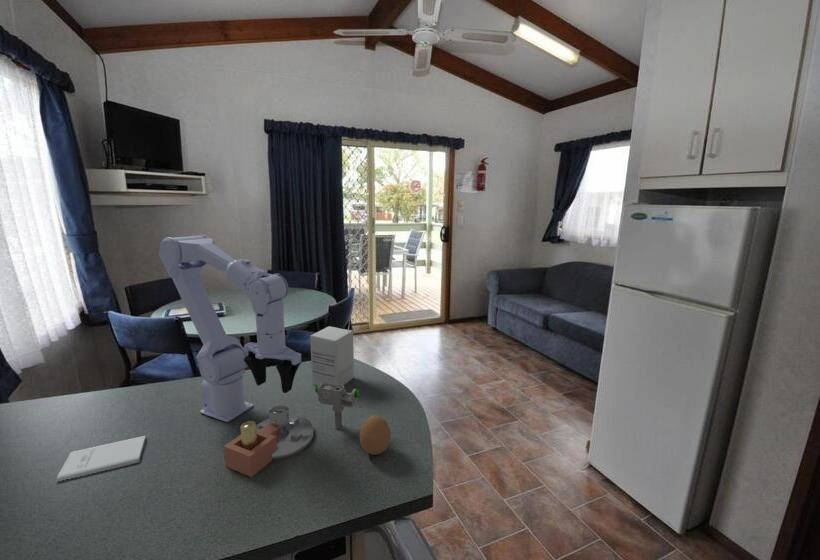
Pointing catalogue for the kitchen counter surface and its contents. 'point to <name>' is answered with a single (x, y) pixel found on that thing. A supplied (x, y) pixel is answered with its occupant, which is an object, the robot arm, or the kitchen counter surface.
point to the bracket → (252, 451)
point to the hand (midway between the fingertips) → (274, 387)
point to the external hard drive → (102, 458)
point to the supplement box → (332, 356)
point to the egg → (375, 435)
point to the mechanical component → (336, 399)
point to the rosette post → (288, 432)
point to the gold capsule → (249, 435)
